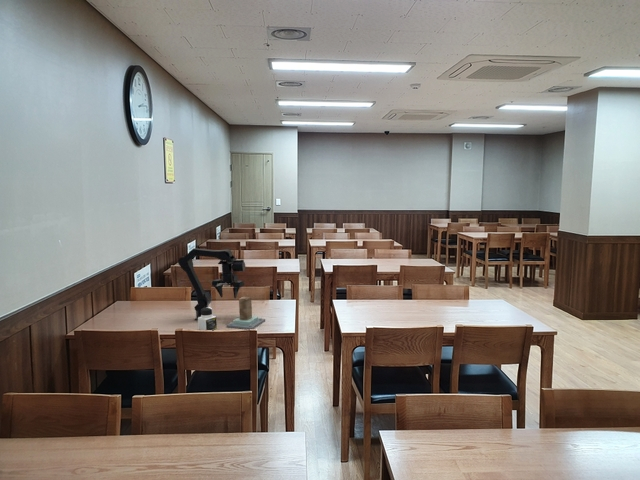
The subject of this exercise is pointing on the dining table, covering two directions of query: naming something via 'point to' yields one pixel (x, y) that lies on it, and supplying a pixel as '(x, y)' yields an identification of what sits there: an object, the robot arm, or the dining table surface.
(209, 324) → the medicine bottle
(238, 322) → the base plate
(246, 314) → the walnut pillar
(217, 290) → the robot arm
